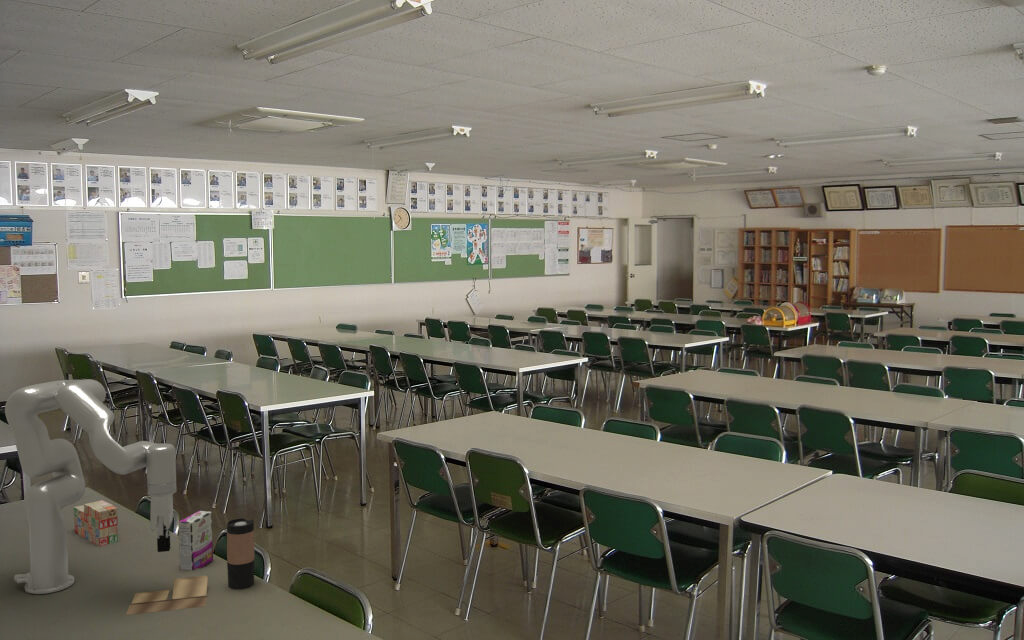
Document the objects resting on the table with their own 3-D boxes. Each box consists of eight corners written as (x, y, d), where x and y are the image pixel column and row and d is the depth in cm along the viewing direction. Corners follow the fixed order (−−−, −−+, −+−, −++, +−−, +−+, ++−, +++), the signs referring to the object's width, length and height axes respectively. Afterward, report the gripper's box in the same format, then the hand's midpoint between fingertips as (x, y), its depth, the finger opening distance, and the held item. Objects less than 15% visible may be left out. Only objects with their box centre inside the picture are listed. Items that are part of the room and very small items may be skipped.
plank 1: (131, 607, 217) (131, 603, 217) (135, 597, 224) (135, 593, 224) (166, 603, 220) (166, 599, 220) (169, 593, 227) (169, 589, 227)
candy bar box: (199, 559, 253) (198, 510, 252) (213, 561, 252) (213, 511, 251) (178, 573, 242) (177, 521, 241) (192, 574, 241) (192, 522, 240)
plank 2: (172, 601, 221) (172, 598, 220) (174, 581, 227) (174, 578, 226) (206, 598, 224) (206, 595, 223) (207, 578, 229) (207, 575, 229)
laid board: (125, 619, 210) (125, 614, 210) (130, 608, 217) (130, 603, 217) (205, 610, 216) (205, 605, 216) (207, 599, 223) (207, 595, 223)
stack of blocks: (74, 532, 277) (73, 498, 276) (92, 528, 282) (91, 494, 281) (99, 547, 263) (98, 511, 262) (118, 542, 268) (117, 507, 267)
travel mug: (229, 595, 226) (228, 527, 225) (225, 585, 233) (224, 520, 231) (256, 590, 230) (256, 524, 228) (252, 581, 236) (251, 516, 235)
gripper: (151, 481, 229) (153, 543, 230) (143, 496, 214) (145, 561, 216) (179, 479, 231) (181, 540, 232) (172, 493, 217) (174, 558, 218)
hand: (164, 550), depth 224 cm, fingers closed
